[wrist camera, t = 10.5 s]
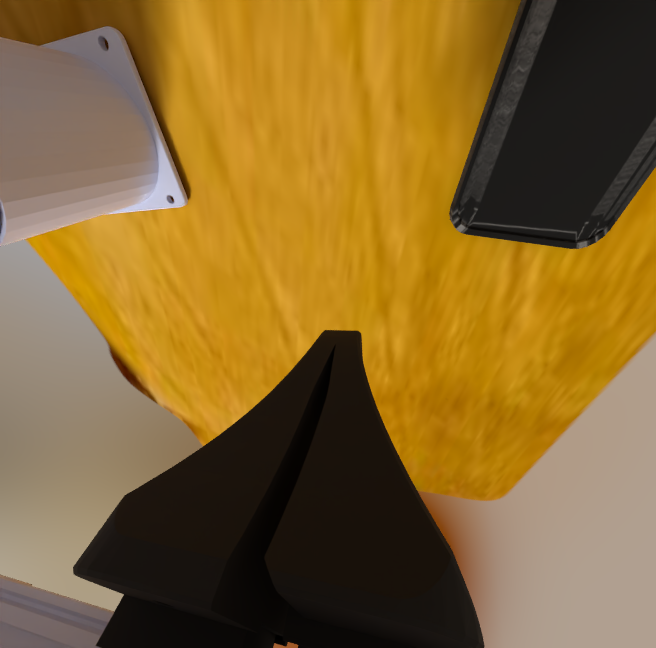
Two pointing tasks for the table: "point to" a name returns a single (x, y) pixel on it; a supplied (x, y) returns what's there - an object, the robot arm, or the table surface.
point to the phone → (564, 125)
